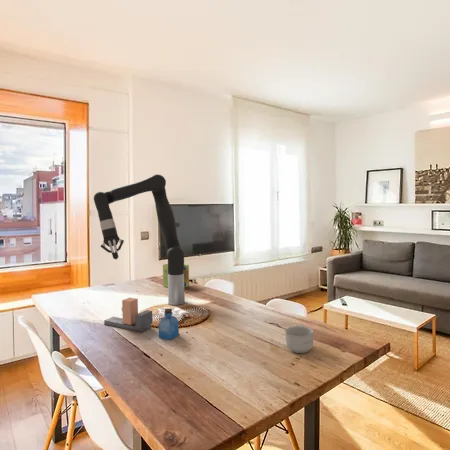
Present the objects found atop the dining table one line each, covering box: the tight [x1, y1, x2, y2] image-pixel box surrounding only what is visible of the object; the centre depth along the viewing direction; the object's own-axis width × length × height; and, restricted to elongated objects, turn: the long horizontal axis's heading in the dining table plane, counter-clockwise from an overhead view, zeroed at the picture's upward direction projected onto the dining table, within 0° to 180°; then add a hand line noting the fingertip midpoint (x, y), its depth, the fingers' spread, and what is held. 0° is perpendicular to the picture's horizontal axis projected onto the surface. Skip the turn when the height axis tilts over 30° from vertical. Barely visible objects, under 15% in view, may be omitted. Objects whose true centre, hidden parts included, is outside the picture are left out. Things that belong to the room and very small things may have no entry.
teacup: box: [284, 324, 314, 354], centre depth 137 cm, size 14×11×8 cm
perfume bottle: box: [158, 309, 180, 341], centre depth 151 cm, size 6×6×12 cm
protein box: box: [162, 263, 190, 289], centre depth 240 cm, size 10×15×16 cm
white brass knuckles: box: [156, 306, 191, 322], centre depth 177 cm, size 3×18×15 cm
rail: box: [103, 309, 153, 333], centre depth 164 cm, size 24×8×8 cm, turn 62°
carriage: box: [121, 297, 139, 325], centre depth 163 cm, size 6×5×11 cm
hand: (116, 259), depth 187 cm, fingers closed
